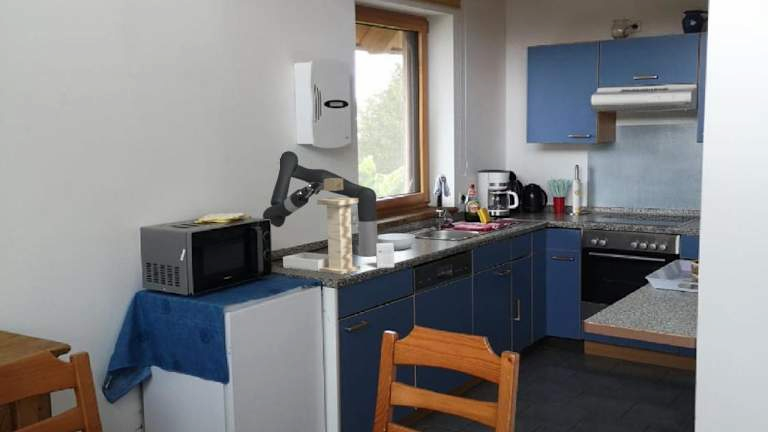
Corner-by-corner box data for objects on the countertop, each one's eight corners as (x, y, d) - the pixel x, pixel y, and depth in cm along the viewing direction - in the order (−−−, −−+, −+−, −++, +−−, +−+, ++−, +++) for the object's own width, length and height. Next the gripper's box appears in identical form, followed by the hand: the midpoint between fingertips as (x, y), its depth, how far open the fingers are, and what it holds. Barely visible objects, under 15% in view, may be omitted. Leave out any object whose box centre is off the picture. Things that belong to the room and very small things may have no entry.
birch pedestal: (339, 267, 360) (337, 197, 356) (360, 269, 353) (358, 198, 349) (319, 272, 348) (316, 200, 345) (340, 274, 342) (338, 200, 338)
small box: (393, 265, 361) (393, 242, 360) (394, 267, 356) (393, 244, 354) (376, 265, 361) (375, 243, 360) (376, 268, 355) (376, 244, 354)
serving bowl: (368, 251, 404) (367, 237, 403) (387, 245, 422) (386, 232, 421) (404, 253, 394) (404, 239, 393) (422, 247, 413) (422, 234, 412)
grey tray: (305, 262, 374) (304, 252, 373) (339, 266, 362) (339, 255, 361) (283, 267, 362) (282, 256, 361) (318, 271, 349) (318, 260, 349)
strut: (315, 188, 358) (315, 177, 357) (343, 189, 348) (342, 178, 348) (306, 189, 353) (306, 178, 352) (334, 190, 344) (334, 179, 343)
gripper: (282, 195, 356) (306, 176, 347) (303, 192, 368) (327, 174, 358) (289, 209, 355) (313, 191, 345) (309, 206, 366) (334, 189, 357)
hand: (320, 183), depth 352 cm, fingers closed on strut, 3 cm apart
